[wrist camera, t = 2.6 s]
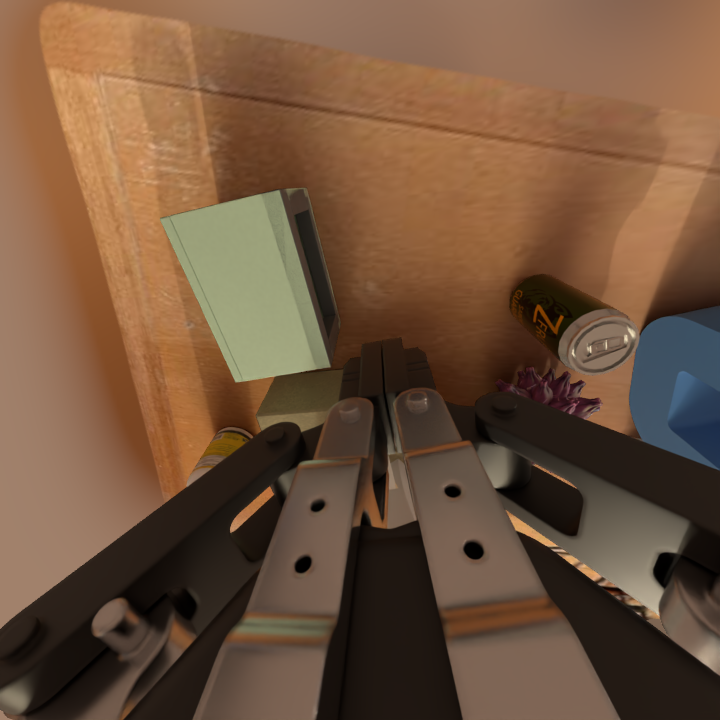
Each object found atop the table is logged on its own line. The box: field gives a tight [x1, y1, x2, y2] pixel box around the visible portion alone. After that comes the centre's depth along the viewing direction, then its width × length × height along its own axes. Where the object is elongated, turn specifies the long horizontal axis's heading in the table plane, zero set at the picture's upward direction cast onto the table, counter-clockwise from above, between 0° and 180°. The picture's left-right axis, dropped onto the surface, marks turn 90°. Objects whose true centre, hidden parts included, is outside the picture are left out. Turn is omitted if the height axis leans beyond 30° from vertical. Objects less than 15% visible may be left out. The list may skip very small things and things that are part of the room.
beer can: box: [510, 274, 640, 376], centre depth 29 cm, size 5×5×12 cm
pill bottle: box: [187, 427, 253, 487], centre depth 41 cm, size 6×6×11 cm
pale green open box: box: [160, 188, 341, 382], centre depth 29 cm, size 14×9×10 cm, turn 12°
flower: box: [495, 367, 603, 473], centre depth 35 cm, size 12×12×12 cm
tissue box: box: [256, 369, 404, 490], centre depth 35 cm, size 19×10×16 cm, turn 97°
